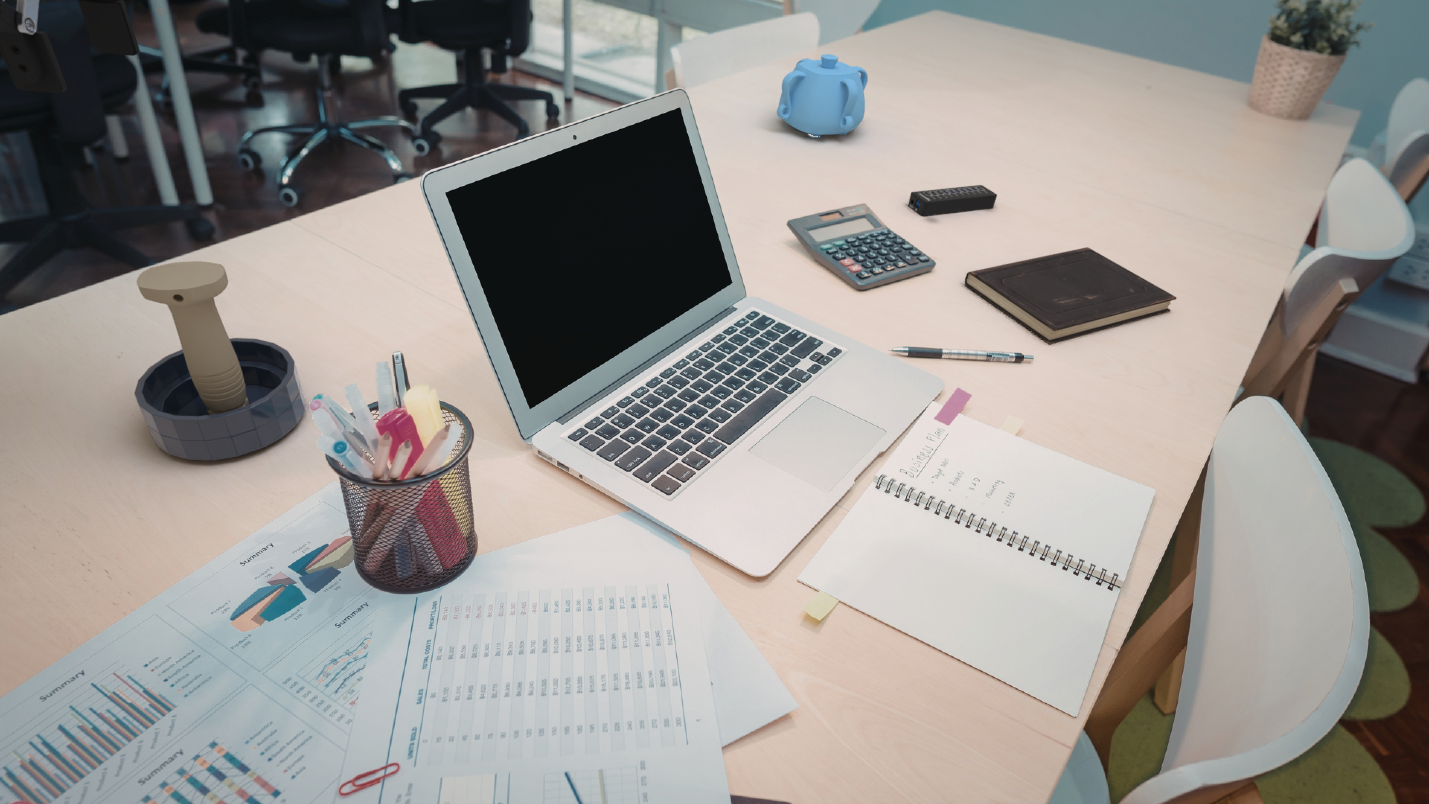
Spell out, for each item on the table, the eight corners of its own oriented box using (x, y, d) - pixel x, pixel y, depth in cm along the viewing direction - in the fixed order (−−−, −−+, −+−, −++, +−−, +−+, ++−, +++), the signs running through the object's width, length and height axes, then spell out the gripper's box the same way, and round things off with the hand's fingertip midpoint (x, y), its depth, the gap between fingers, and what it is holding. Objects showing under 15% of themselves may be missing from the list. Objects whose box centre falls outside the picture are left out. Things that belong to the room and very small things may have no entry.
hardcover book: (1169, 311, 110) (1176, 297, 109) (1049, 344, 101) (1055, 329, 99) (1079, 259, 121) (1084, 245, 120) (962, 284, 112) (967, 269, 110)
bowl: (126, 463, 72) (104, 417, 69) (193, 378, 82) (177, 335, 79) (277, 467, 73) (262, 422, 70) (324, 383, 83) (313, 340, 80)
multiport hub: (994, 208, 134) (998, 194, 133) (922, 216, 129) (925, 202, 128) (977, 197, 137) (981, 184, 136) (906, 205, 132) (910, 191, 131)
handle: (198, 403, 78) (145, 263, 69) (272, 396, 80) (229, 259, 71) (187, 434, 74) (129, 292, 65) (264, 427, 76) (218, 287, 67)
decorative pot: (846, 150, 150) (860, 74, 142) (765, 131, 155) (775, 56, 146) (868, 126, 163) (882, 54, 154) (792, 109, 167) (802, 39, 159)
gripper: (7, -219, 58) (96, 37, 68) (-203, -218, 44) (-52, 102, 54) (119, -206, 58) (189, 45, 69) (-55, -201, 45) (66, 112, 55)
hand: (82, 70), depth 61 cm, fingers open, 9 cm apart
